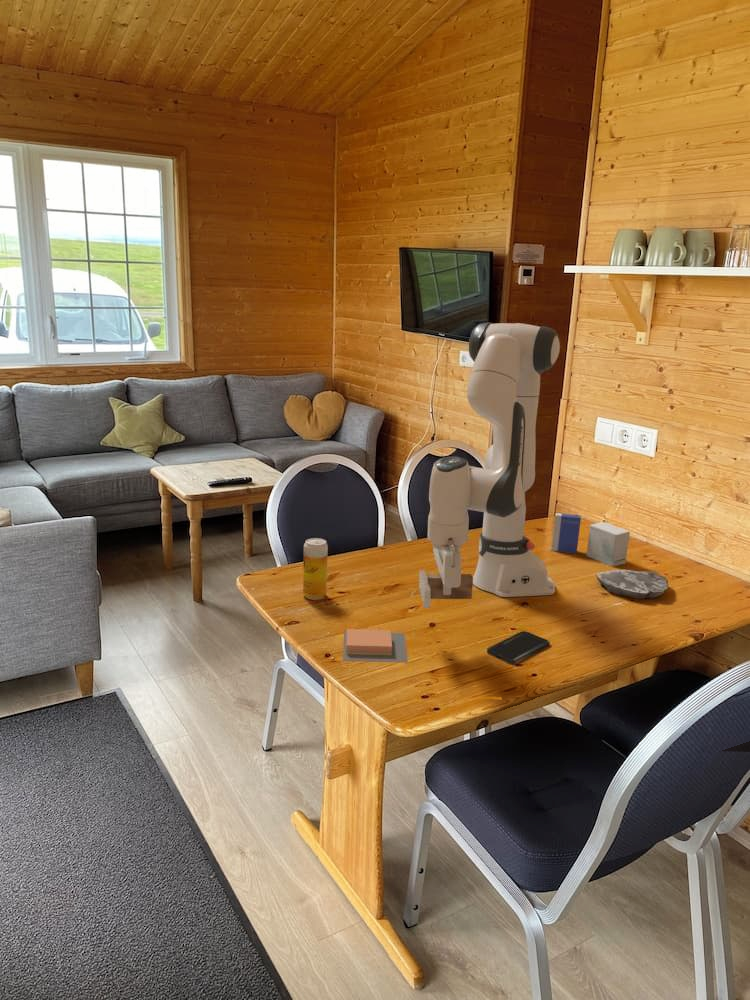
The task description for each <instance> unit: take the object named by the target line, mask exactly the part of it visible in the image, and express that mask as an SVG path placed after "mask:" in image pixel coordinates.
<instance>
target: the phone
mask: <svg viewBox="0 0 750 1000" xmlns="http://www.w3.org/2000/svg"><path fill="white" fill-rule="evenodd" d="M548 647H550V640H549V639H546V638H543V637H541V636H539V635H536V634H534V633H533V632H529V631H526V630H525V631H524V630H522V631H520V632H517V633H515V634H513V635H511V636H510V637H508V638H504V639H503V640H501V641H499V642H497V643H495V644H492V645H491V646H489V647H487V648H486V649H487V650H486V653H487V654H488V655H490V656H492V657H494V658H497V659H500V660H501V661H504V662H506V663H507V664H510V665H516V664H518V663H520V662H522V661H524V660H525V659H527V658H529V657H531V656H533V655H535V654H537V653H539V652H540V651H542V650H544V649H546V648H548Z"/></svg>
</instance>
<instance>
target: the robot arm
mask: <svg viewBox="0 0 750 1000" xmlns="http://www.w3.org/2000/svg"><path fill="white" fill-rule="evenodd" d="M560 344H561V343H560V337H559V335H558V333H557V332H556V330H555V329H553V328H551V327H547V326H544V325H542V326H538V325H532V324H527V323H519V322H516V323H515V322H514V323H511V322H510V323H509V322H508V323H506V322H503V323H498V322H497V323H493V322H483V323H479V324H477V326H475V327H474V328H473V329H472V331H471V333H470V337H469V341H468V354H469V357H470V358H471V360H472V361H473V365H472V368H471V373H470V375H469V379H468V382H467V389H466V398H467V401H468V404H469V406H470V407H471V409H472V410H473V411H474V412H475V413H477V414H478V415H479V416H480V417H482V418H483V419H484V420H486V421H488V422H491V423H492V444H491V445H490V446H489V447H488V449H487V450H486V453H485V457H484V468H483V467H476V466H473V465H472V466H471V465H469V462H468V460H467V459H465V458H463V457H460V456H446V457H445V456H444V457H442V458H438V459H437V460H436V461H434V463H433V466H432V469H431V475H430V480H429V491H428V501H429V505H430V506H429V507H430V509H429V510H430V511H429V514H428V516H427V517H428V519H427V539H428V541H429V542H430V543H432V550H433V551H432V552H433V557H434V559H435V560H434V561H435V562H436V566H437V568H438V571H439V574H440V576H441V579H442V582H443V587H442V591H443V594H444V595H450V594H451V588H452V587H459V586H460V584H461V574H462V555H461V551H460V549H462V547H463V544H466V543H467V542H468V540H469V525H470V524H469V522H470V521H469V520H470V517H469V514H468V513H469V512H468V510H470V511H476V512H482V513H483V519H482V520H483V521H482V531H481V532H480V537H479V542H478V553H479V555H478V561H477V563H476V565H477V566H476V568H475V572H474V575H473V576H472V577H473V586H475V587H476V588H478V589H480V590H482V591H486V592H488V593H492V594H494V595H496V596H499V597H501V598H512V597H513V598H515V597H516V598H517V597H534V596H535V597H536V596H551V595H554V594H555V593H556V586H555V582H554V581H553V580H552V578H550V577H549V576H548V569H547V566H546V564H545V563H544V562H543V561H542V559H541V558H539V557H538V556H537V555H535V554H534V552H532V551H533V550H534V549H535V548H536V547H535V544H534V543H533V542H532V541H531V540H530V539H529V538H528V537H527V536H526V535H524V533H525V532H524V531H525V524H526V523H525V521H526V513H527V507H526V492H527V491H528V490H529V489H531V487H532V486H533V485H534V482H535V479H536V444H537V443H536V441H537V440H536V425H537V415H538V407H539V398H540V389H541V375H542V374H543V373H544V372H545V371H548V370H550V369H551V368H552V367H553V366H554V365H555V364H556V361H557V359H558V357H559V354H560V351H561V349H560V348H561V345H560Z"/></svg>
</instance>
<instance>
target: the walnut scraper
mask: <svg viewBox="0 0 750 1000" xmlns="http://www.w3.org/2000/svg"><path fill="white" fill-rule="evenodd" d="M473 577H474V576H473V575H472V573H461V584H460V586H459V587H452V588H451V594H450V595H444V594H443V591H442V587H443V582H442V579H441V576H440V573H427V572H426V569H422V570H421V569H420V570H419V581H418V587H419V591H420V595H421V600H422V605H423V607H424V609H430V608H431V600H472V598H473V586H474V584H473Z"/></svg>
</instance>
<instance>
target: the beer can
mask: <svg viewBox="0 0 750 1000" xmlns="http://www.w3.org/2000/svg"><path fill="white" fill-rule="evenodd" d="M328 548H329V546H328V542H327V540H326V539H323V538H321V537H319V538H318V537H311V538H308V539H306V540H305V543H304V544H303V567H302V569H303V570H302V571H303V574H302V576H303V577H302V580H303V581H302V582H303V583H302V595H303V596H304V597H305V598H306V599H307V598H308V600H310V599H311V601H319V600H322V599H324V598H325V596H326V595H327V590H328V589H327V585H328V556H329V555H328V551H329V549H328Z"/></svg>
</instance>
